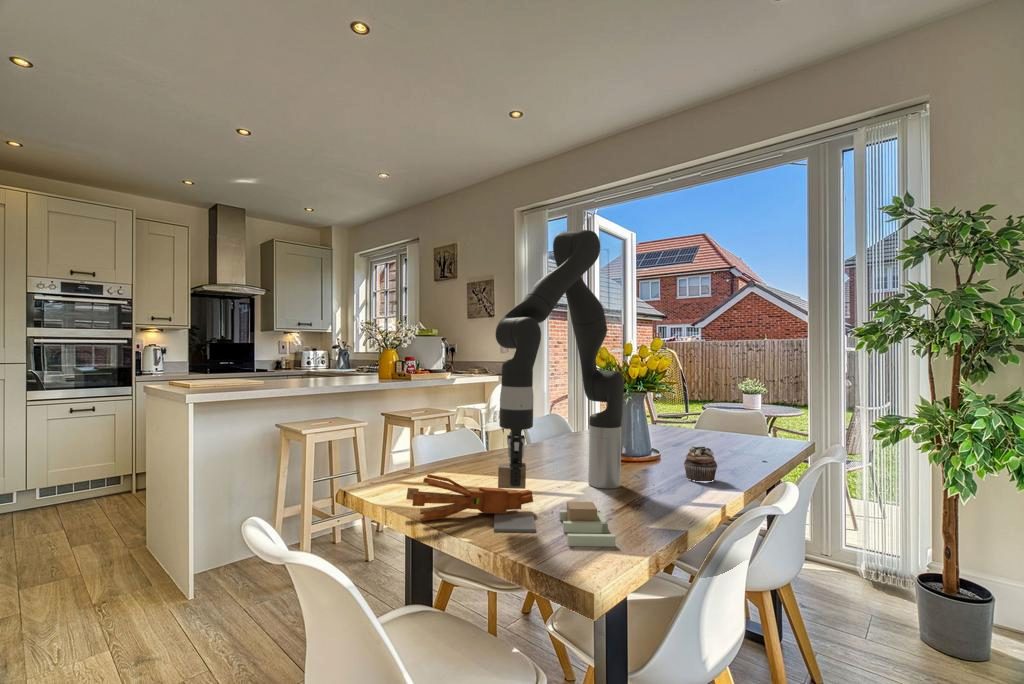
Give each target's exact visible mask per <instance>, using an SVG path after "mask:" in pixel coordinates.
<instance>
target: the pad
mask: <svg viewBox="0 0 1024 684" xmlns="http://www.w3.org/2000/svg"><path fill="white" fill-rule="evenodd" d="M493 514H494V516H493V517H494V518H493V532H499V533H500V532H502V533H503V532H505V533H506V532H511V533H513V532H514V533H517V532H518V533H533V532H534V533H536V532H537V531H536V525H535V518H534V515H533V514H498V513H493Z"/></svg>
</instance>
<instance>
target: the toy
mask: <svg viewBox="0 0 1024 684" xmlns="http://www.w3.org/2000/svg"><path fill="white" fill-rule="evenodd" d="M423 483H424V484H428V486H430V487H434V488H437V489H438V488H439V489H443V490H447V491H450V492H452V493H447V492H446V493H445V492H436V491H419V488H417V487H415V488H414V487H408V488H407V492H406V500H411V501H412V507H423V508H420V509H419V513H420V515H423V516H421V521H431V520H437V519H443V518H448V517H450V516H452V515H455V514H458V513H460V512H462V511H466V510H468V509H469V510H478V511H480V512H481V513H483V514H498V515H507V513H508V511H515V510H522V505H526V504H530V503H533V502H534V498H533V491H532V490H529V489H526V490H525V489H524V490H521V491H518V490H505V488H498V487H494V488H493V487H478V489H477V490H476V489H467V488H466V487H465V486H463V485H461V484H459V483H457V482H455V481H454V480H452V479H450V478H448V477H444V476H440V475H438V476H437V475H433V474H429V473H428V474H427V475H426V477H424V478H423ZM453 492H454V493H453ZM425 504H442V505H439V506H431V507H425ZM443 504H445V505H443Z"/></svg>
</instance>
